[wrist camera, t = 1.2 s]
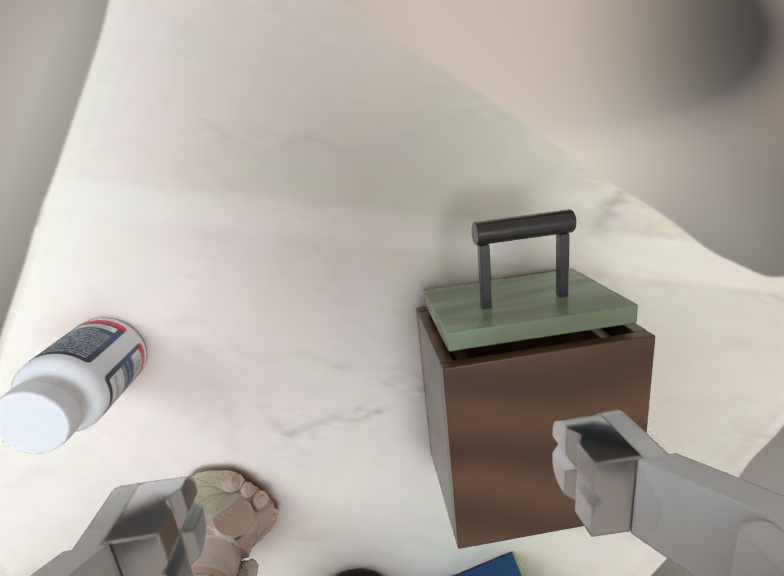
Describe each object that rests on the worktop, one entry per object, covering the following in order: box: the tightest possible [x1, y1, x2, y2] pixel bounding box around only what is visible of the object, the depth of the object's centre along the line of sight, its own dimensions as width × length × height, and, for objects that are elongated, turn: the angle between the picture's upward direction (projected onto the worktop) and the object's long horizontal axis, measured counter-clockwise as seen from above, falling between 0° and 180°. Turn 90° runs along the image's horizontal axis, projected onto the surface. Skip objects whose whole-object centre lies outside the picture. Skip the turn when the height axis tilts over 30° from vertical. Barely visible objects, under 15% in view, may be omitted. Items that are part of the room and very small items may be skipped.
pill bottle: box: [0, 318, 147, 453], centre depth 28 cm, size 5×5×9 cm
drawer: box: [424, 209, 638, 361], centre depth 30 cm, size 18×11×8 cm, turn 7°
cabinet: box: [416, 307, 655, 549], centre depth 32 cm, size 14×13×10 cm
